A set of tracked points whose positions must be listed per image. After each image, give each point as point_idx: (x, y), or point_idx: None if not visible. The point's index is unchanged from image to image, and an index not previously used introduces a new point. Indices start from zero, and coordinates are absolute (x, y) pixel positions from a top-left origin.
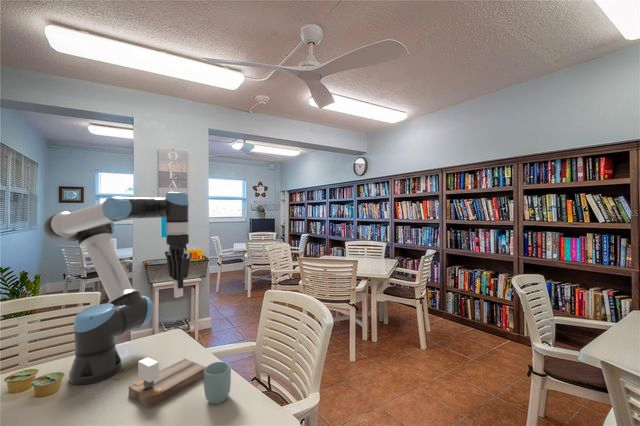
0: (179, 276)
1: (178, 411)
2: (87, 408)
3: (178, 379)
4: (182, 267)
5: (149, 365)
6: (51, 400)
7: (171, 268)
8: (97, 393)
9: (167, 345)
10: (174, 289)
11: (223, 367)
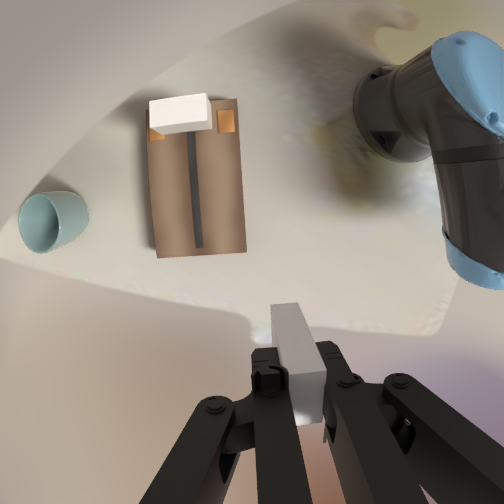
0: (252, 416)
1: (101, 147)
2: (264, 45)
3: (161, 184)
4: (154, 499)
5: (153, 104)
6: (352, 29)
7: (427, 441)
8: (306, 74)
9: (389, 280)
10: (301, 327)
11: (49, 243)
